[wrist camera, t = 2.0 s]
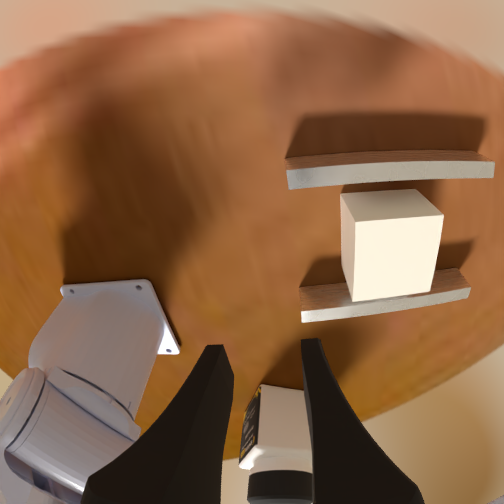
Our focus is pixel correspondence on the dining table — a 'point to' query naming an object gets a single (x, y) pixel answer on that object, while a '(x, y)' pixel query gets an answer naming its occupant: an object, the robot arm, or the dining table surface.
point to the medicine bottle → (277, 447)
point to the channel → (377, 170)
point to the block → (388, 243)
